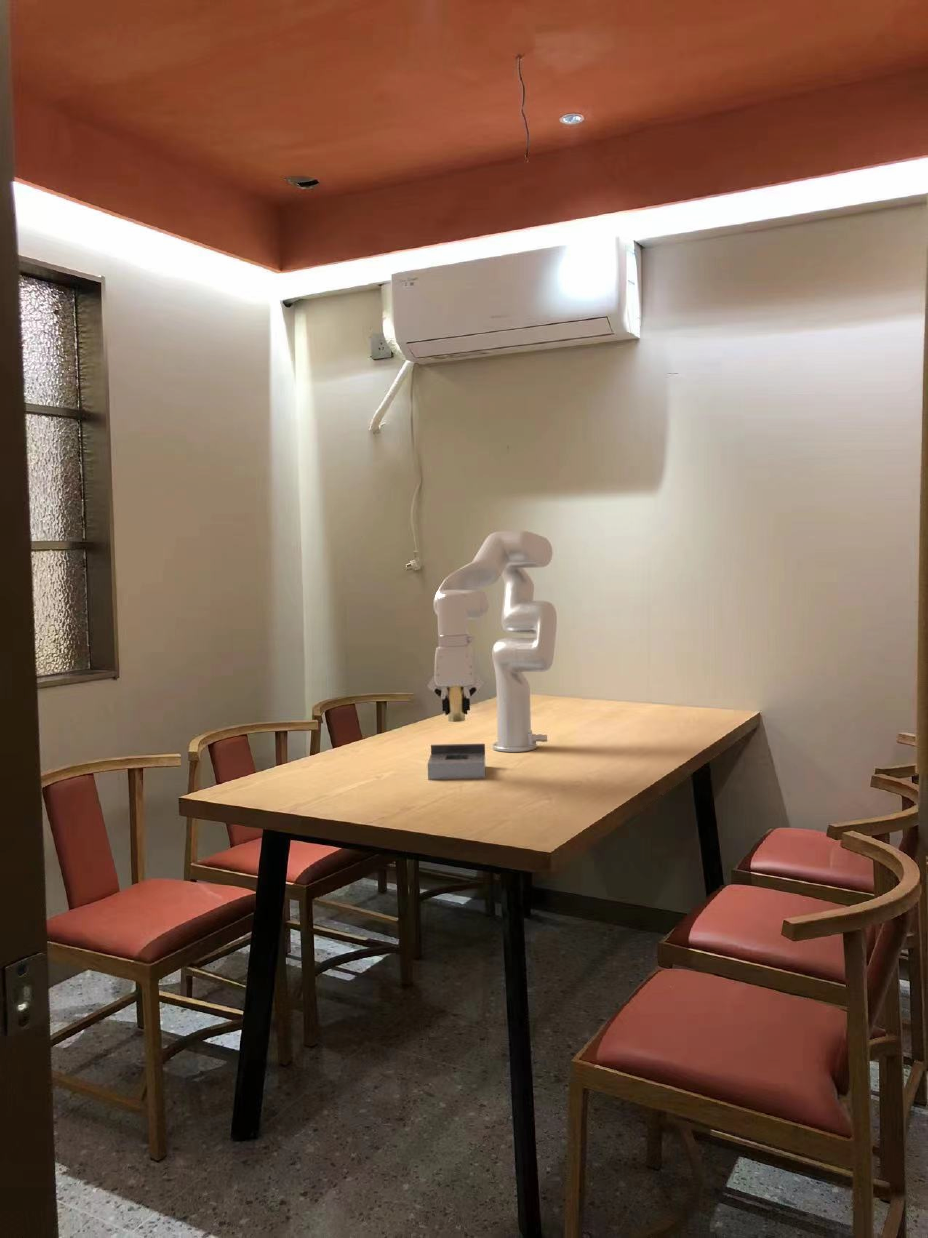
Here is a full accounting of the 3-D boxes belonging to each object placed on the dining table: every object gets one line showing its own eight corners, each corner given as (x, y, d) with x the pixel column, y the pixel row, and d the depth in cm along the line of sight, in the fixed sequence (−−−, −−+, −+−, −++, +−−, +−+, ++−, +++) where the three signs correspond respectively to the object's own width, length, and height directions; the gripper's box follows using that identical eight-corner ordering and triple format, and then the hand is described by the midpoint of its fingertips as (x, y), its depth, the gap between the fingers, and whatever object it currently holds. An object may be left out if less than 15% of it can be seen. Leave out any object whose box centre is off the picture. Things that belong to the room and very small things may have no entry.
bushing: (465, 718, 247) (463, 683, 247) (464, 721, 243) (463, 686, 242) (448, 719, 248) (447, 684, 247) (448, 722, 243) (446, 686, 243)
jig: (485, 766, 254) (484, 743, 254) (484, 778, 240) (483, 754, 240) (432, 767, 255) (431, 744, 255) (428, 779, 241) (427, 755, 241)
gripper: (487, 638, 247) (489, 710, 249) (421, 641, 248) (424, 712, 249) (487, 642, 240) (489, 715, 241) (419, 644, 240) (422, 717, 242)
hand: (456, 713), depth 245 cm, fingers closed on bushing, 4 cm apart
